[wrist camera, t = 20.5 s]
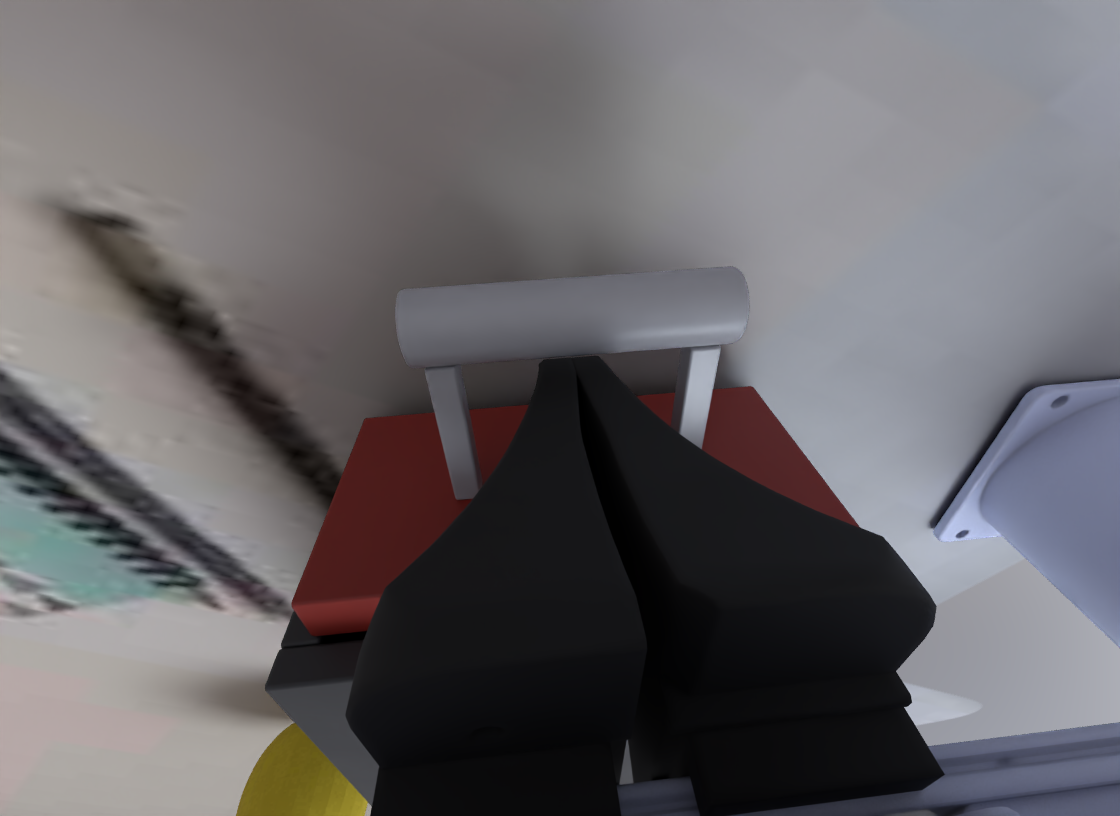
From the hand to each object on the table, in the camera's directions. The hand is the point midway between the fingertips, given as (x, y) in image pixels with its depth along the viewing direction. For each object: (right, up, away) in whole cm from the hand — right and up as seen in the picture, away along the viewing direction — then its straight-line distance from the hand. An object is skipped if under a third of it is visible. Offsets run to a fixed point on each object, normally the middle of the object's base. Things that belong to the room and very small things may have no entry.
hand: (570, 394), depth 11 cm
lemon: (-13, -16, +15) cm, 25 cm away
